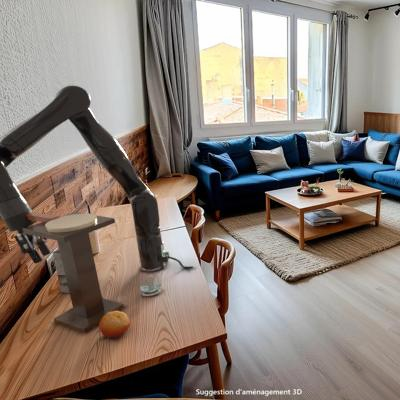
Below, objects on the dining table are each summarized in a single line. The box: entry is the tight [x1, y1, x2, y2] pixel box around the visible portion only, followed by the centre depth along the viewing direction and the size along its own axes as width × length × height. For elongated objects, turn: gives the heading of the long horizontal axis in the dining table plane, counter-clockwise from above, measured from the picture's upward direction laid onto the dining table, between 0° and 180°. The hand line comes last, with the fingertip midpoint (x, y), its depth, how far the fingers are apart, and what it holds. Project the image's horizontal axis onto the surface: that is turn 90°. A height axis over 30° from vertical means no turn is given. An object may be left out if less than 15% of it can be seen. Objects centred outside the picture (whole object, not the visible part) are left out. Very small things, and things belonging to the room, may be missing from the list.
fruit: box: [98, 310, 131, 340], centre depth 102 cm, size 8×8×8 cm
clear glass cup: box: [139, 275, 163, 297], centre depth 124 cm, size 7×6×6 cm
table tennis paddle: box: [26, 212, 98, 233], centre depth 104 cm, size 25×13×2 cm, turn 71°
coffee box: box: [51, 248, 70, 294], centre depth 127 cm, size 9×6×16 cm
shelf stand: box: [23, 211, 125, 334], centre depth 108 cm, size 18×16×32 cm
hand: (43, 258), depth 112 cm, fingers open, 8 cm apart
